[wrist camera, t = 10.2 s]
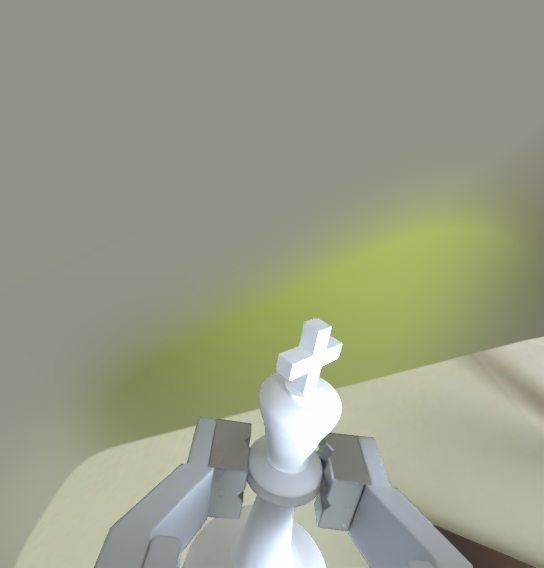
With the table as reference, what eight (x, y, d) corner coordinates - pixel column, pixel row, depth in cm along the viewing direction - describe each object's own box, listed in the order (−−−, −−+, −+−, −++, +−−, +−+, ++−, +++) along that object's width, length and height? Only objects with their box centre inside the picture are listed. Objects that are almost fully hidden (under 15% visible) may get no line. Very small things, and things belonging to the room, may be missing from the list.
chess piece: (359, 605, 12) (472, 350, 8) (240, 756, 9) (333, 452, 5) (262, 492, 15) (311, 269, 11) (148, 572, 12) (160, 298, 8)
